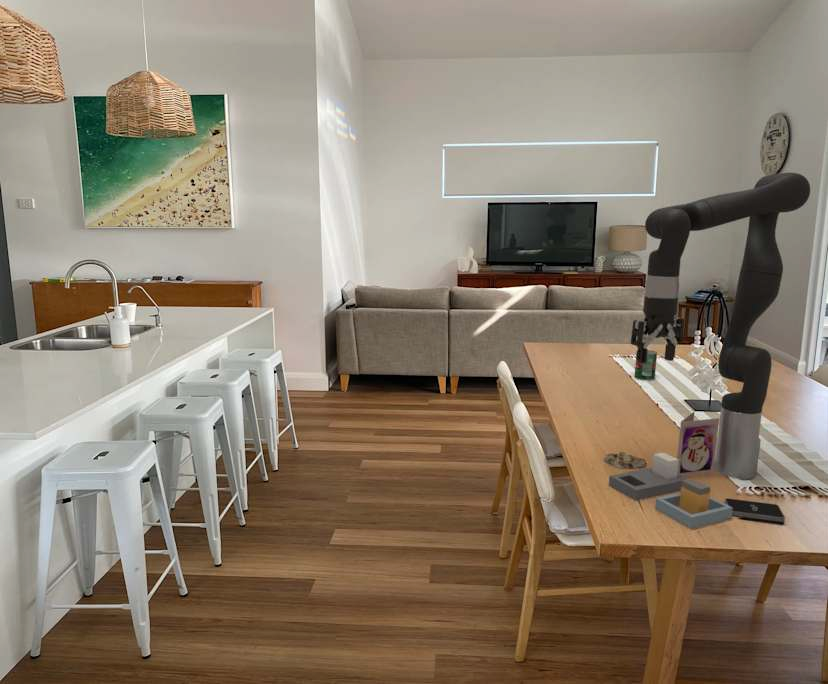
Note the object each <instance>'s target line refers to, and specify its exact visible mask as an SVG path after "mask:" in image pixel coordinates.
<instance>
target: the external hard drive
mask: <svg viewBox="0 0 828 684" xmlns="http://www.w3.org/2000/svg"><path fill="white" fill-rule="evenodd" d="M723 503H724V504H726V505H729V506H731V507H733V510H732V517H735V518H736V519H737V520H744V521H750V522H757V523H758V522H759V523H766V524H772V525H782V526H783V525H784V524H785V521H786V520H785V519H786V516H785V515H784V513H783V511H782V509H781V508H780V506H779V505H778V504H776V503H769V502H767V503H766V502H759V501H754V500H753V501H752V500H743V499H738V498H737V499H735V498H730V497H729V498H728V497H727V498H724V502H723Z"/></svg>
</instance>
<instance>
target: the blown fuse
mask: <svg viewBox="0 0 828 684" xmlns="http://www.w3.org/2000/svg"><path fill="white" fill-rule="evenodd" d="M680 493H681V494H680V504H679V508H680V509H682V510H684V511H686V512H687V513H689V514H691V515H692V514H696V513H701V512H705V511H708V505H709V496H710V497H711V486H709V485H707V484H706V483H703V482H701V481H699V480H697V479H694V478H686V480H682V484H681V491H680Z"/></svg>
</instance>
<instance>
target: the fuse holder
mask: <svg viewBox="0 0 828 684" xmlns="http://www.w3.org/2000/svg"><path fill="white" fill-rule="evenodd" d="M652 467H653V466H652ZM652 467H645V468H640V469H635V470H631V471H627V472H622V473H621V472H620V473H617V474H611V475H609V478H608V486H609V487H611V488H612V489H614V490H615V491H617V492H619V493H621V494H622V495H625V496H627V497H629V498H630V499H632V500H634V501H639V500H644V499H650V498H654V497H657V496H658V497H659V496H663V495H668V494H673V493H677V492H681V484H682V480H686V479H687V478H686V477H685V476H680V475H678V474H677V478H674V479H669V480H667V479H665V478H663V477H661V476H659V475H657V474H655V473H653V472H652Z"/></svg>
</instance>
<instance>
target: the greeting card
mask: <svg viewBox="0 0 828 684" xmlns="http://www.w3.org/2000/svg"><path fill="white" fill-rule="evenodd" d="M719 422H720V417H719V418H707V419H699V420H695V411H693V412H692V413H690V414H689V415H688V416H686V417H685V418H684V419H683V420H681V421H680V426H679V428H680V430H679V437H678V447H677V458H676V459H679V461H678V472H677V474H678V475H680V476H682V477H688V476H689V477H691V476H698V475H705V474H713V473H714V471H715V469H714V467H715V458H716V449H717V440H718V431H719Z"/></svg>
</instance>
